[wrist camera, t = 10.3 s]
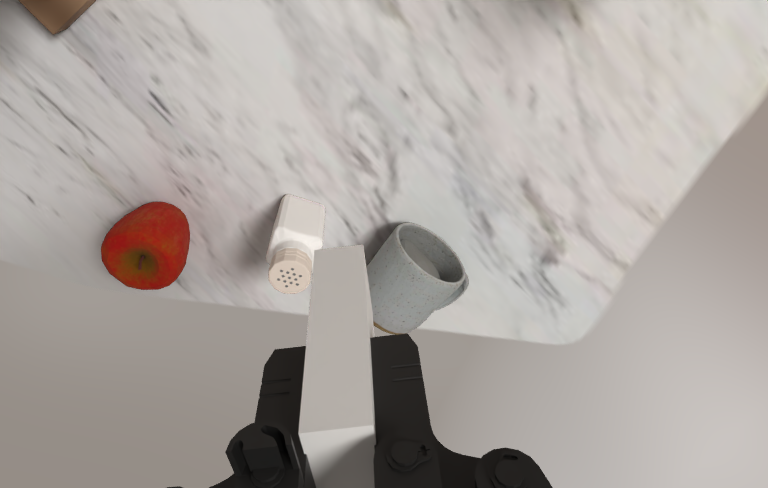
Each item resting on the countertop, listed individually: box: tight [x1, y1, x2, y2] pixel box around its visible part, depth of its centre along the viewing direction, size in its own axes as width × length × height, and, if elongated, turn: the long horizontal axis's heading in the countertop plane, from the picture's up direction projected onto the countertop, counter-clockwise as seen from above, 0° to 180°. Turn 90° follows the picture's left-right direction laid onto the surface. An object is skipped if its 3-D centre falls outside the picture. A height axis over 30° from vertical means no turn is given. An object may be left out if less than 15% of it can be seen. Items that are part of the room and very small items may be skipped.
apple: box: [101, 202, 190, 290], centre depth 43 cm, size 6×6×8 cm
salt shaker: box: [266, 195, 326, 294], centre depth 43 cm, size 4×4×10 cm
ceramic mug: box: [366, 223, 469, 335], centre depth 47 cm, size 11×8×8 cm
